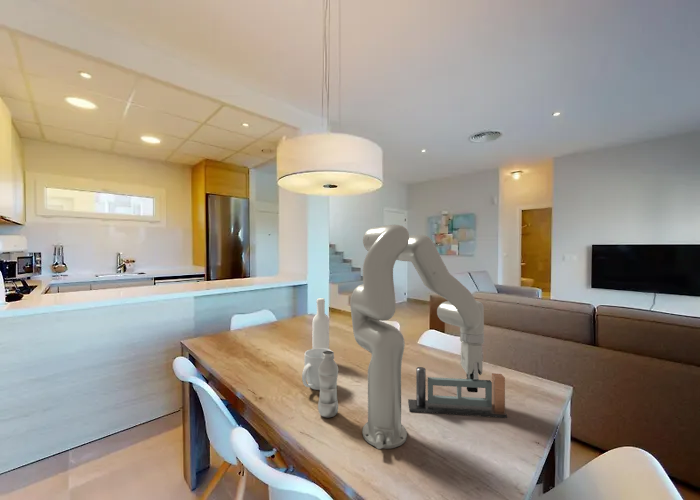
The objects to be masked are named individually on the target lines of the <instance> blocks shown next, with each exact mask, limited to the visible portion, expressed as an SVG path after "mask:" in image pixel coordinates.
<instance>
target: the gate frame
mask: <svg viewBox="0 0 700 500" xmlns="http://www.w3.org/2000/svg"><path fill="white" fill-rule="evenodd" d="M415 369H416V370H415V371H416V374H415V375H416V378H415V379H416V384H415V385H416V387H415V388H416V389H415V390H416V393H415V396H416V397H415V398H416V399H410V398H409V399H407V401H408V409H409V412H410V413H411V412H412V413H424V414H425V413H426V414H441V415H457V416H469V417H470V416H472V417H486V418H487V417H488V418H499V419H500V418H502V419H503V418H504V419H507V418H508V415H507V413H506V377H505V376H504V375H503V374H502V373H491V382H492V407H483V406H466V405H450V404H434V403H428V399H427V400H426V397H427V395H426V390H427V389H426V388H427V387H426V384H427V383H426V382H427V379H426V378H427V377H426V376H427V375H426V374H427V373H426V372H427V371H426V368H425V367H424V366H423V367H422V366H418V367H416V368H415Z"/></svg>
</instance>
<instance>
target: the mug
mask: <svg viewBox="0 0 700 500" xmlns="http://www.w3.org/2000/svg"><path fill="white" fill-rule="evenodd" d="M324 351H332V350H331V349H330V348H329V349H326V348H314V349H312V348H311V349H308V350H305V352H304V359H303V360H304V361H303V362H304V366H303V370H302V373H301V379H302V381H301V382H302V384H303V386H305V388H310V389H312V390H314V391H320V380H319V373H318V368H319V365H320V364H321V362H322V361H323V359H322V353H323V352H324Z"/></svg>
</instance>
